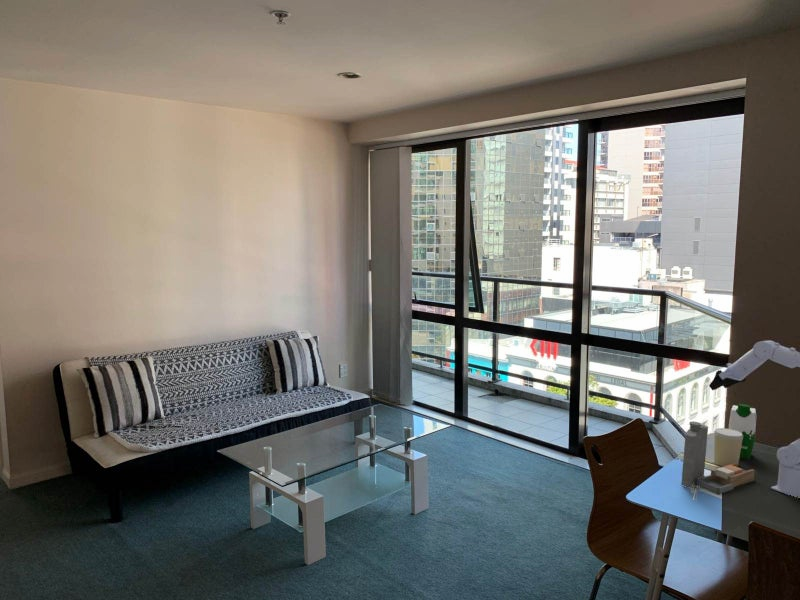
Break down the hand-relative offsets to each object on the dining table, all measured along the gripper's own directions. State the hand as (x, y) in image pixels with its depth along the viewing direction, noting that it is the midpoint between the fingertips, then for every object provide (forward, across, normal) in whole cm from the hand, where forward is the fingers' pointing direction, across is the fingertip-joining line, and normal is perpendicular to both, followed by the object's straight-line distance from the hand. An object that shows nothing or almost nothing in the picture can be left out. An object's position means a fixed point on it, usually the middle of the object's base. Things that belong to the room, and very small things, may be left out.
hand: (717, 386), depth 214 cm
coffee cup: (+19, -5, +22) cm, 29 cm away
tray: (+12, +19, +29) cm, 37 cm away
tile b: (+10, +13, +27) cm, 32 cm away
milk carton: (+21, -19, +19) cm, 34 cm away
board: (+12, +8, +29) cm, 33 cm away
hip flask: (+17, +20, +24) cm, 36 cm away
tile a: (+10, +8, +27) cm, 30 cm away
